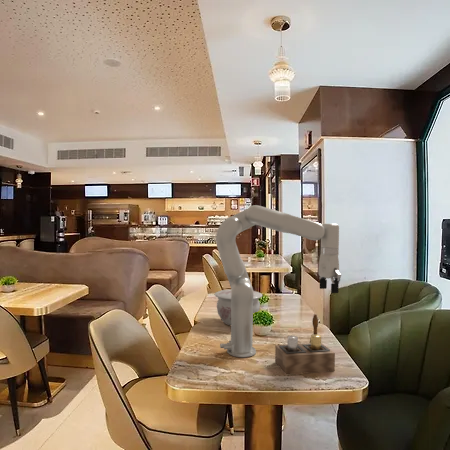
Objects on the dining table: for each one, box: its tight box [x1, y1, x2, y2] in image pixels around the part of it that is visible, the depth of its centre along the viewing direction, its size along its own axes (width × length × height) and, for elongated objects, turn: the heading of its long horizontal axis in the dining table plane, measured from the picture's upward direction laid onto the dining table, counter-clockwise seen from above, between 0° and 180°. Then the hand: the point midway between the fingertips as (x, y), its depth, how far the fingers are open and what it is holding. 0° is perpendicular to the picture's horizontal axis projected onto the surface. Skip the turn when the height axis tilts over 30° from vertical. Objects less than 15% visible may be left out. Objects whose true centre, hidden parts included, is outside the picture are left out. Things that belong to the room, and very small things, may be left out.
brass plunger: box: [310, 333, 322, 351], centre depth 141 cm, size 4×4×7 cm
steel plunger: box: [286, 334, 299, 352], centre depth 139 cm, size 4×4×7 cm
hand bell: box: [309, 313, 319, 343], centre depth 159 cm, size 8×8×16 cm
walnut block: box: [274, 342, 336, 375], centre depth 140 cm, size 20×12×7 cm, turn 101°
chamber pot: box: [214, 288, 263, 326], centre depth 200 cm, size 28×28×21 cm
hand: (328, 290), depth 154 cm, fingers open, 9 cm apart
